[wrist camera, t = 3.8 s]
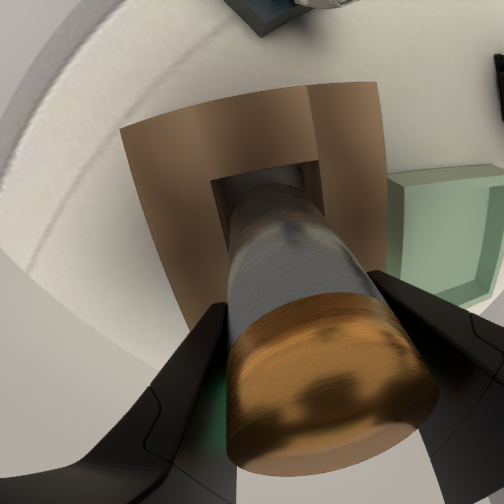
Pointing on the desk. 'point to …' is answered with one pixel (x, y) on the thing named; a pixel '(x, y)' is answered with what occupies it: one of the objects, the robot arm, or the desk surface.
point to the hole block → (252, 159)
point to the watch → (277, 11)
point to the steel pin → (311, 346)
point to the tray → (447, 231)
